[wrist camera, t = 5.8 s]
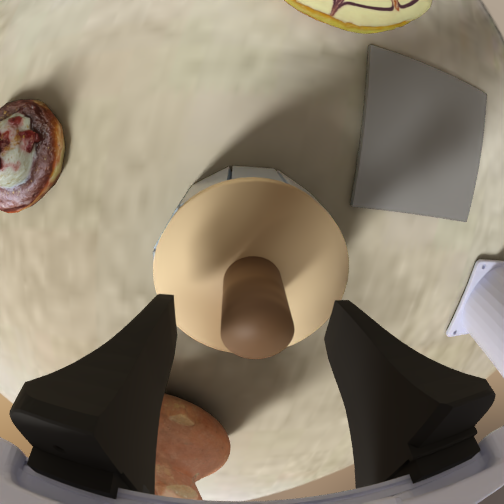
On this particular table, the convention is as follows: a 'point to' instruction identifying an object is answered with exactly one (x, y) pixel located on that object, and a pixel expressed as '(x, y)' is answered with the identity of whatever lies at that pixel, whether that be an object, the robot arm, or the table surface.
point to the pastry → (28, 153)
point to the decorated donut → (363, 13)
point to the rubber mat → (418, 139)
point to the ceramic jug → (187, 448)
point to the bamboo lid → (251, 266)
